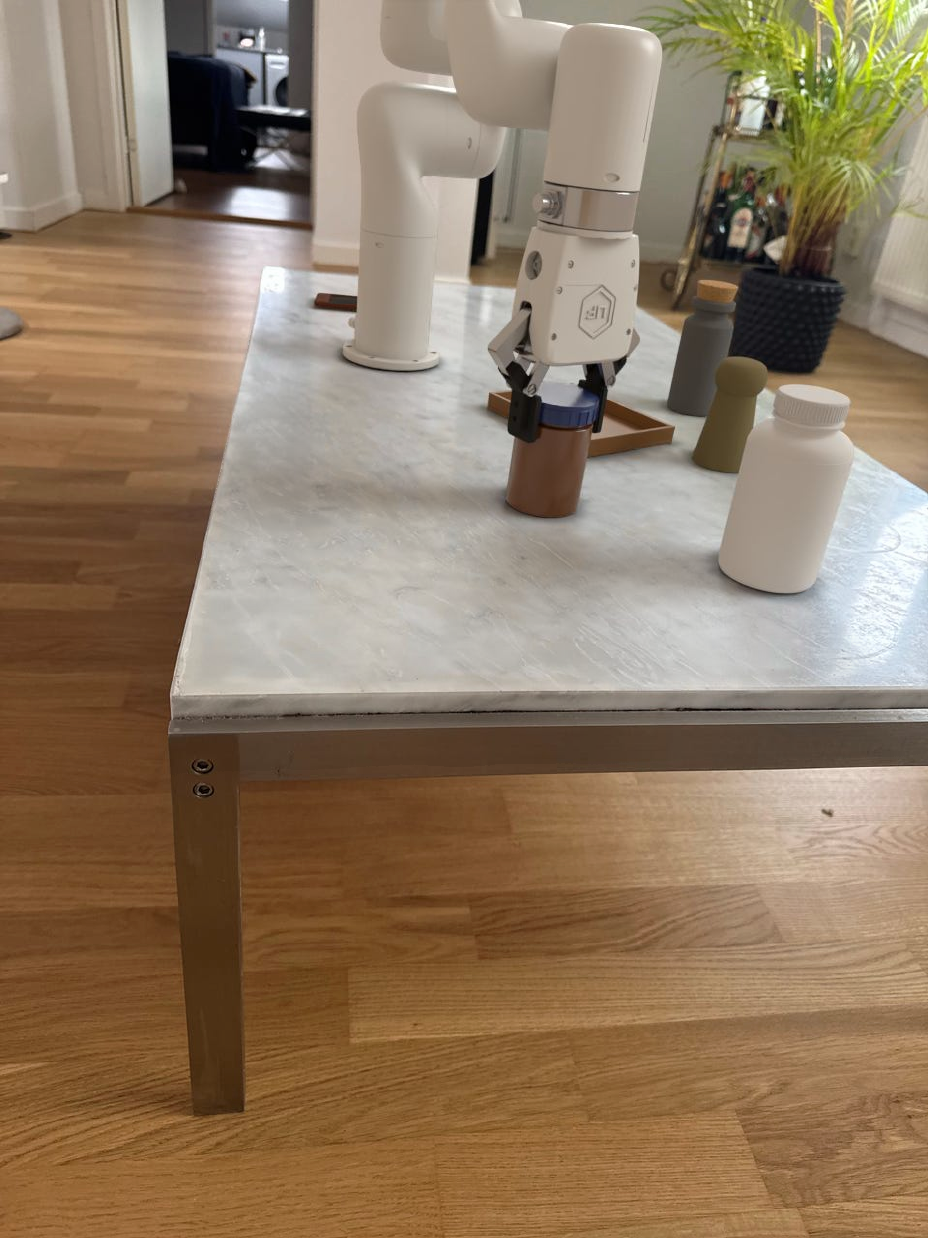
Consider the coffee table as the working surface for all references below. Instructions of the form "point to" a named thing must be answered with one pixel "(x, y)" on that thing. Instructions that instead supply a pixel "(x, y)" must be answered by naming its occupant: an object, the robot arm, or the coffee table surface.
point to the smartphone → (336, 301)
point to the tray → (609, 426)
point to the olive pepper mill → (730, 414)
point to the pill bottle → (788, 491)
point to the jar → (549, 470)
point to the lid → (567, 404)
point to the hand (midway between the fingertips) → (554, 431)
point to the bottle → (702, 348)
